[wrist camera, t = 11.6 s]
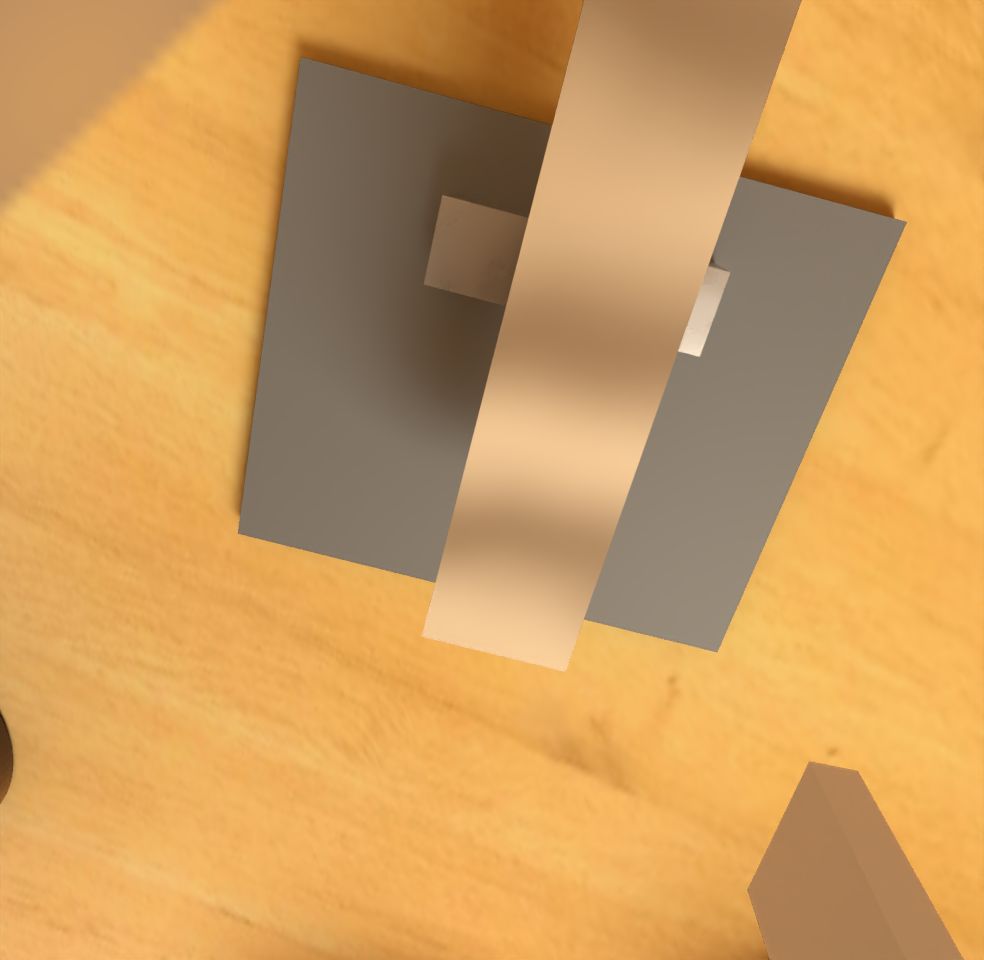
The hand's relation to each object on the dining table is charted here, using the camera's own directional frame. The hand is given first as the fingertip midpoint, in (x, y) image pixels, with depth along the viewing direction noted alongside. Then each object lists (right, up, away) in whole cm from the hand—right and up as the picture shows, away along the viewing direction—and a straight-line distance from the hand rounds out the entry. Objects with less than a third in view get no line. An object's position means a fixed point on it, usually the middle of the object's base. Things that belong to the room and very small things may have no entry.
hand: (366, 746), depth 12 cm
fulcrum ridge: (+5, +12, +18) cm, 22 cm away
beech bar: (+5, +10, +12) cm, 16 cm away
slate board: (+4, +8, +20) cm, 22 cm away
